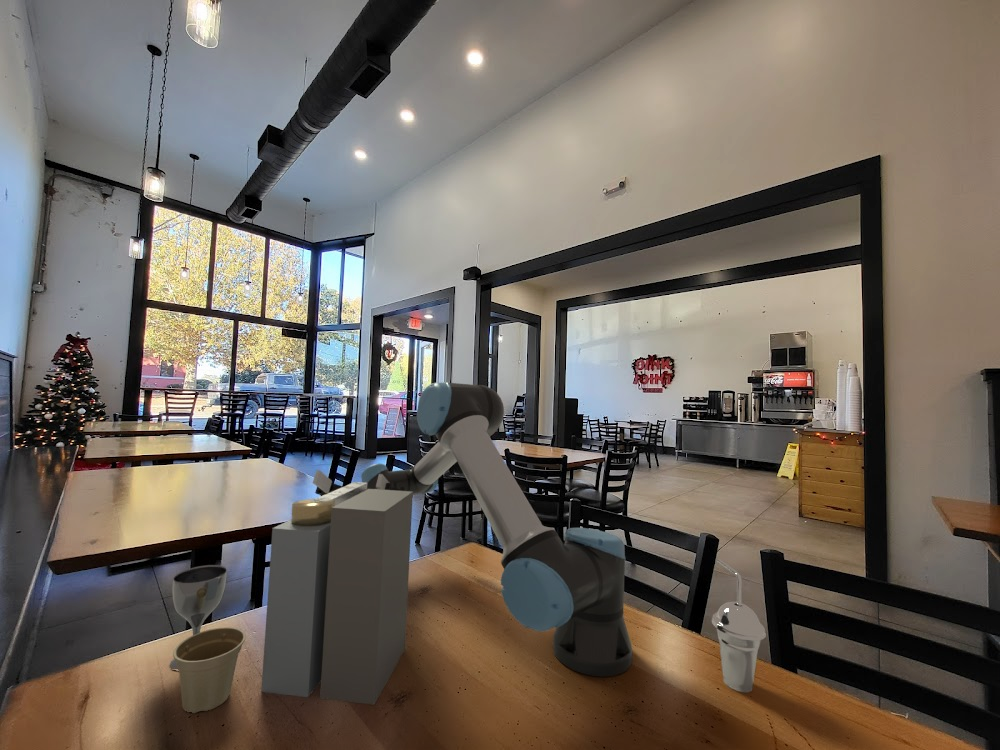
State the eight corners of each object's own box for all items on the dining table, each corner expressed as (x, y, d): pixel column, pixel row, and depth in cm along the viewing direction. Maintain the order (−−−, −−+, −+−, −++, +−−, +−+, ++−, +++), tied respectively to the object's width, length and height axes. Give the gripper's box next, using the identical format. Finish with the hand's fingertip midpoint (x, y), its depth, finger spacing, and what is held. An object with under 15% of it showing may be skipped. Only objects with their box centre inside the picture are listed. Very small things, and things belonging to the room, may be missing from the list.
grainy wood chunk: (375, 497, 94) (376, 483, 94) (321, 527, 71) (322, 509, 72) (345, 495, 95) (346, 481, 95) (282, 524, 72) (283, 506, 72)
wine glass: (226, 659, 76) (232, 574, 77) (171, 679, 71) (178, 587, 72) (214, 641, 82) (220, 561, 83) (162, 658, 76) (169, 572, 77)
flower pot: (215, 724, 62) (219, 663, 62) (151, 721, 62) (157, 659, 62) (254, 682, 71) (258, 628, 71) (199, 678, 71) (203, 625, 72)
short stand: (350, 643, 83) (357, 508, 84) (308, 697, 68) (318, 531, 69) (311, 639, 84) (319, 505, 85) (261, 691, 69) (272, 528, 70)
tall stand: (404, 649, 82) (412, 491, 83) (374, 704, 67) (384, 511, 69) (359, 644, 83) (368, 488, 84) (320, 698, 68) (331, 507, 69)
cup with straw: (718, 695, 72) (719, 574, 73) (705, 663, 81) (706, 556, 82) (774, 705, 70) (774, 581, 71) (754, 671, 79) (754, 562, 80)
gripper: (424, 527, 103) (402, 500, 85) (326, 520, 105) (284, 492, 87) (429, 496, 107) (409, 464, 89) (334, 490, 109) (296, 458, 91)
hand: (347, 478), depth 88 cm, fingers open, 13 cm apart
